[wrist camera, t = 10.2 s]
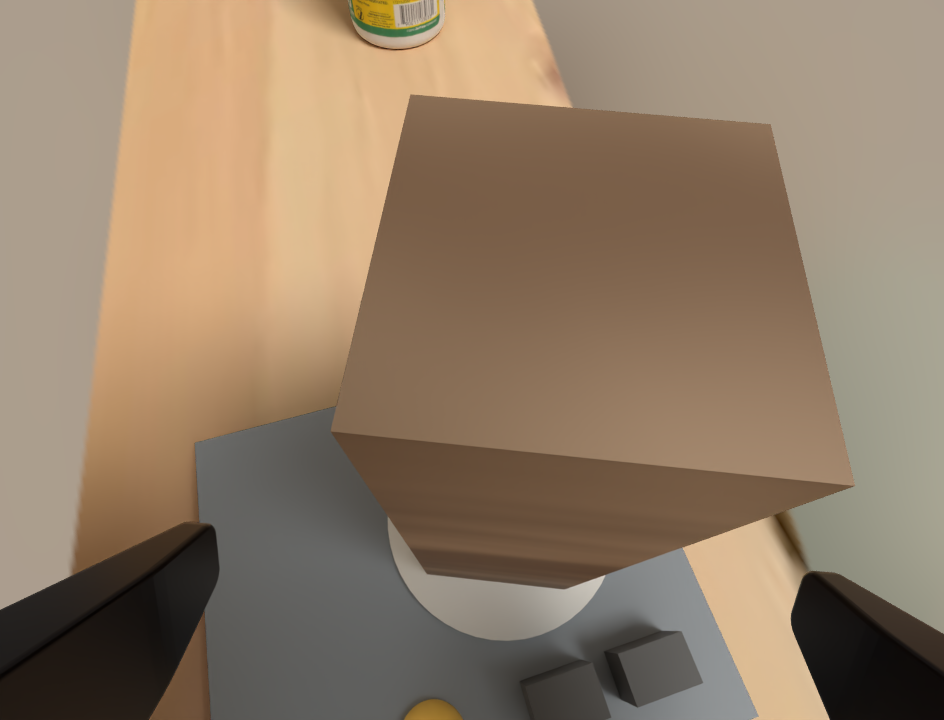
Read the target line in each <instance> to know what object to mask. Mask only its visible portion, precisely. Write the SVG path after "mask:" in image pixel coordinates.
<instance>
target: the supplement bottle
mask: <svg viewBox="0 0 944 720" xmlns="http://www.w3.org/2000/svg"><path fill="white" fill-rule="evenodd" d="M348 4H349V10H350V14H351V19H352V22H353V25H354V27H355V29H356V31H357V32H358V34H359V35H360V36H361V37H362V38H363V39H365V40H366V41H368V42H370V43H372V44H374V45H377V46H380V47H384V48H391V49H405V48H411V47H416V46H419V45H422V44H424V43H426V42H428V41H430V40H431V39H432V38H434V37H435V36H436V35H437V34H438V33H439V32H440V30H441V28H442V27H443V24H444V20H445V0H348Z"/></svg>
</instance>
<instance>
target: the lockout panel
mask: <svg viewBox="0 0 944 720" xmlns="http://www.w3.org/2000/svg"><path fill="white" fill-rule="evenodd" d="M335 410H336V406H335V407H331V408H327V409H323V410H320V411H316V412H312V413H308V414H304V415H300V416H296V417H293V418H289V419H285V420H281V421H277V422H273V423H269V424H266V425H262V426H258V427H254V428H250V429H246V430H242V431H239V432H235V433H231V434H227V435H223V436H219V437H215V438H212V439H208V440H204V441H200V442H196V443H195V456H196V473H197V490H198V507H199V523H209V524H211V525H213V526H214V528H215V530H216V536H217V546H218V555H219V565H220V571H219V578H218V581H217V584H216V587H215V589H214V591H213V593H212V595H211V597H210V599H209V601H208V604H207V606H206V608H205V627H206V644H207V662H208V679H209V696H210V713H211V720H751V719H753V718H756V717H758V714H757V711H756V709H755V707H754V705H753V703H752V700H751V698H750V696H749V694H748V692H747V689H746V687H745V685H744V683H743V681H742V678H741V676H740V674H739V672H738V670H737V667H736V665H735V663H734V661H733V659H732V656H731V654H730V652H729V650H728V647H727V645H726V643H725V641H724V639H723V636H722V634H721V632H720V630H719V628H718V625H717V623H716V621H715V619H714V617H713V614H712V612H711V610H710V608H709V606H708V603H707V601H706V599H705V597H704V594H703V592H702V590H701V588H700V586H699V583H698V581H697V579H696V577H695V575H694V572H693V570H692V568H691V566H690V564H689V561H688V559H687V557H686V555H685V553H684V550H683V548H680V549H677V550H674V551H671V552H668V553H666V554H663V555H660V556H657V557H654V558H652V559H649V560H646V561H643V562H640V563H638V564H635V565H632V566H629V567H626V568H624V569H621V570H618V571H615V572H612V573H610V574H607V575H604V576H601V577H598V578H596V579H593V580H590V581H587V582H584V583H582V584H579V585H576V586H573V587H570V588H568V589H565V590H564V589H555V588H546V587H537V586H528V585H519V584H510V583H501V582H492V581H483V580H474V579H465V578H456V577H447V576H438V575H429V574H427V573H426V572H425V570H424V569H423V567H422V566H421V564H420V563H419V562H418V560H417V559H416V557H415V556H414V554H413V553H412V551H411V550H410V548H409V547H408V545H407V544H406V542H405V541H404V539H403V538H402V536H401V535H400V533H399V532H398V531H397V529H396V528H395V526H394V525H393V523H392V522H391V520H390V519H389V517H388V516H387V514H386V513H385V511H384V510H383V508H382V507H381V505H380V504H379V502H378V501H377V499H376V498H375V497H374V495H373V494H372V492H371V491H370V489H369V488H368V486H367V485H366V483H365V482H364V480H363V479H362V477H361V476H360V474H359V473H358V471H357V470H356V468H355V467H354V466H353V464H352V463H351V461H350V460H349V458H348V457H347V455H346V454H345V452H344V451H343V449H342V448H341V446H340V445H339V443H338V442H337V440H336V439H335V437H334V436H333V434H332V433H331V432H330V431H331V427H332V423H333V419H334V414H335Z"/></svg>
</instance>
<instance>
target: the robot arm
mask: <svg viewBox="0 0 944 720" xmlns="http://www.w3.org/2000/svg"><path fill="white" fill-rule="evenodd" d="M219 571H220V565H219V555H218V546H217V536H216V530H215V528H214V526H213V525H211V524H209V523H198V522H184V523H182V524H180V525H177V526H175V527H173V528H171V529H169V530H167V531H165V532H163V533H161V534H159V535H156V536H154V537H152V538H150V539H148V540H146V541H144V542H142V543H140V544H138V545H135V546H133V547H131V548H129V549H127V550H125V551H123V552H121V553H119V554H117V555H114V556H112V557H110V558H108V559H106V560H104V561H102V562H100V563H98V564H96V565H93V566H91V567H89V568H87V569H85V570H83V571H81V572H79V573H77V574H75V575H72V576H70V577H68V578H66V579H64V580H62V581H60V582H58V583H56V584H54V585H51V586H49V587H47V588H45V589H43V590H41V591H39V592H37V593H35V594H33V595H31V596H28V597H26V598H24V599H22V600H20V601H18V602H16V603H14V604H12V605H9V606H7V607H5V608H3V609H1V610H0V720H149V718H150V716H151V715H152V713H153V711H154V710H155V708H156V706H157V705H158V703H159V701H160V699H161V698H162V696H163V694H164V692H165V690H166V689H167V687H168V685H169V683H170V681H171V679H172V677H173V675H174V673H175V671H176V669H177V667H178V665H179V663H180V661H181V659H182V657H183V655H184V653H185V650H186V648H187V646H188V644H189V642H190V640H191V638H192V636H193V633H194V631H195V629H196V627H197V625H198V623H199V621H200V618H201V616H202V614H203V612H204V610H205V608H206V606H207V604H208V601H209V599H210V597H211V595H212V593H213V591H214V589H215V587H216V584H217V581H218V578H219ZM791 626H792V630H793V633H794V635H795V638H796V640H797V642H798V645H799V647H800V650H801V652H802V654H803V657H804V659H805V661H806V664H807V666H808V669H809V671H810V673H811V676H812V678H813V681H814V683H815V685H816V688H817V690H818V692H819V695H820V697H821V700H822V702H823V704H824V707H825V709H826V711H827V714H828V716H829V719H830V720H944V634H943V633H941V632H939V631H938V630H936V629H934V628H932V627H931V626H929V625H927V624H925V623H924V622H922V621H920V620H918V619H917V618H915V617H913V616H911V615H910V614H908V613H906V612H904V611H902V610H901V609H899V608H897V607H896V606H894V605H892V604H891V603H889V602H887V601H885V600H883V599H882V598H880V597H878V596H877V595H875V594H873V593H871V592H870V591H868V590H866V589H864V588H863V587H861V586H859V585H857V584H856V583H854V582H852V581H851V580H848V579H847V578H845V577H844V576H842V575H840V574H837V573H832V572H820V571H809V572H807V573H806V574H805V575H804V576H803V578H802V580H801V584H800V587H799V590H798V593H797V596H796V600H795V603H794V606H793V609H792V613H791Z"/></svg>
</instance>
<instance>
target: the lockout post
mask: <svg viewBox="0 0 944 720" xmlns="http://www.w3.org/2000/svg"><path fill="white" fill-rule="evenodd" d="M330 432H331V433H332V434H333V436H334V437H335V439H336V440H337V442H338V443H339V445H340V446H341V448H342V449H343V451H344V452H345V454H346V455H347V457H348V458H349V460H350V461H351V463H352V464H353V466H354V467H355V468H356V470H357V471H358V473H359V474H360V476H361V477H362V479H363V480H364V482H365V483H366V485H367V486H368V488H369V489H370V491H371V492H372V494H373V495H374V497H375V498H376V499H377V501H378V502H379V504H380V505H381V507H382V508H383V510H384V511H385V513H386V514H387V516H388V517H389V519H390V520H391V522H392V523H393V525H394V526H395V528H396V529H397V531H398V532H399V533H400V535H401V536H402V538H403V539H404V541H405V542H406V544H407V545H408V547H409V548H410V550H411V551H412V553H413V554H414V556H415V557H416V559H417V560H418V562H419V563H420V564H421V566H422V567H423V569H424V570H425V572H426V573H427V574H429V575H438V576H447V577H456V578H465V579H474V580H483V581H492V582H501V583H510V584H519V585H528V586H537V587H546V588H555V589H564V590H565V589H568V588H570V587H573V586H576V585H579V584H582V583H584V582H587V581H590V580H593V579H596V578H598V577H601V576H604V575H607V574H610V573H612V572H615V571H618V570H621V569H624V568H626V567H629V566H632V565H635V564H638V563H640V562H643V561H646V560H649V559H652V558H654V557H657V556H660V555H663V554H666V553H668V552H671V551H674V550H677V549H680V548H682V547H685V546H688V545H691V544H694V543H696V542H699V541H702V540H705V539H708V538H710V537H713V536H716V535H719V534H722V533H724V532H727V531H730V530H733V529H736V528H738V527H741V526H744V525H747V524H750V523H753V522H755V521H758V520H761V519H764V518H767V517H769V516H772V515H775V514H778V513H781V512H783V511H786V510H789V509H792V508H794V507H797V506H800V505H803V504H806V503H809V502H811V501H814V500H817V499H820V498H823V497H825V496H828V495H831V494H834V493H836V492H839V491H842V490H845V489H848V488H851V487H853V486H855V484H854V480H853V475H852V471H851V467H850V462H849V458H848V454H847V450H846V446H845V441H844V437H843V433H842V428H841V424H840V420H839V415H838V411H837V407H836V403H835V398H834V394H833V390H832V385H831V381H830V377H829V373H828V368H827V364H826V360H825V355H824V351H823V347H822V343H821V338H820V334H819V330H818V325H817V321H816V317H815V313H814V308H813V304H812V300H811V295H810V291H809V287H808V283H807V278H806V274H805V270H804V265H803V261H802V257H801V253H800V248H799V244H798V240H797V235H796V231H795V227H794V223H793V218H792V214H791V210H790V206H789V202H788V197H787V193H786V188H785V184H784V180H783V176H782V172H781V167H780V163H779V159H778V154H777V150H776V146H775V141H774V137H773V133H772V128H771V125H770V124H759V123H747V122H735V121H723V120H711V119H699V118H687V117H674V116H663V115H650V114H639V113H627V112H615V111H603V110H590V109H578V108H566V107H554V106H542V105H530V104H518V103H506V102H494V101H482V100H470V99H458V98H446V97H434V96H422V95H410V99H409V103H408V107H407V111H406V116H405V120H404V124H403V128H402V132H401V137H400V141H399V145H398V149H397V153H396V158H395V162H394V166H393V170H392V174H391V179H390V183H389V187H388V191H387V196H386V200H385V204H384V208H383V212H382V217H381V221H380V225H379V229H378V233H377V238H376V242H375V246H374V250H373V254H372V259H371V263H370V267H369V271H368V276H367V280H366V284H365V288H364V292H363V297H362V301H361V305H360V309H359V313H358V318H357V322H356V326H355V330H354V334H353V339H352V343H351V347H350V351H349V355H348V360H347V364H346V368H345V372H344V377H343V381H342V385H341V389H340V393H339V398H338V402H337V406H336V410H335V414H334V419H333V423H332V427H331V431H330Z"/></svg>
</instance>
